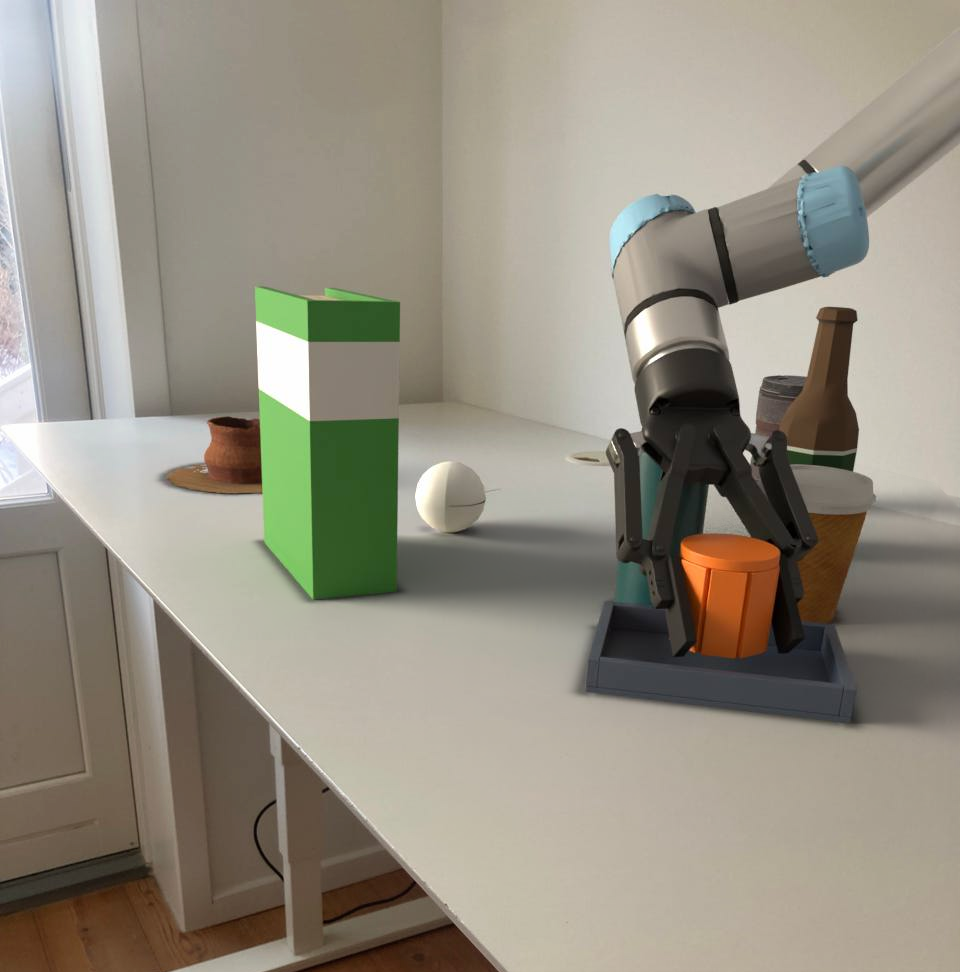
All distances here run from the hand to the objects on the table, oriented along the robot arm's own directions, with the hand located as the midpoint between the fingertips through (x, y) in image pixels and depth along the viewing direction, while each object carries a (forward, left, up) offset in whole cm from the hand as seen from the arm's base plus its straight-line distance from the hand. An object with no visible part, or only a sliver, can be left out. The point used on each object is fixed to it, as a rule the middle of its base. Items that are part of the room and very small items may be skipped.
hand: (738, 647), depth 70 cm
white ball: (+27, -35, -4) cm, 44 cm away
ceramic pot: (+58, -49, -4) cm, 76 cm away
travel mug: (-7, -59, -4) cm, 59 cm away
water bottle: (+6, -15, -4) cm, 16 cm away
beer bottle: (-8, -40, -4) cm, 41 cm away
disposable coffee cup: (-6, -19, -4) cm, 20 cm away
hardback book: (+36, -18, -4) cm, 41 cm away
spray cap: (+1, -3, -1) cm, 4 cm away
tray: (+1, -3, -4) cm, 5 cm away
